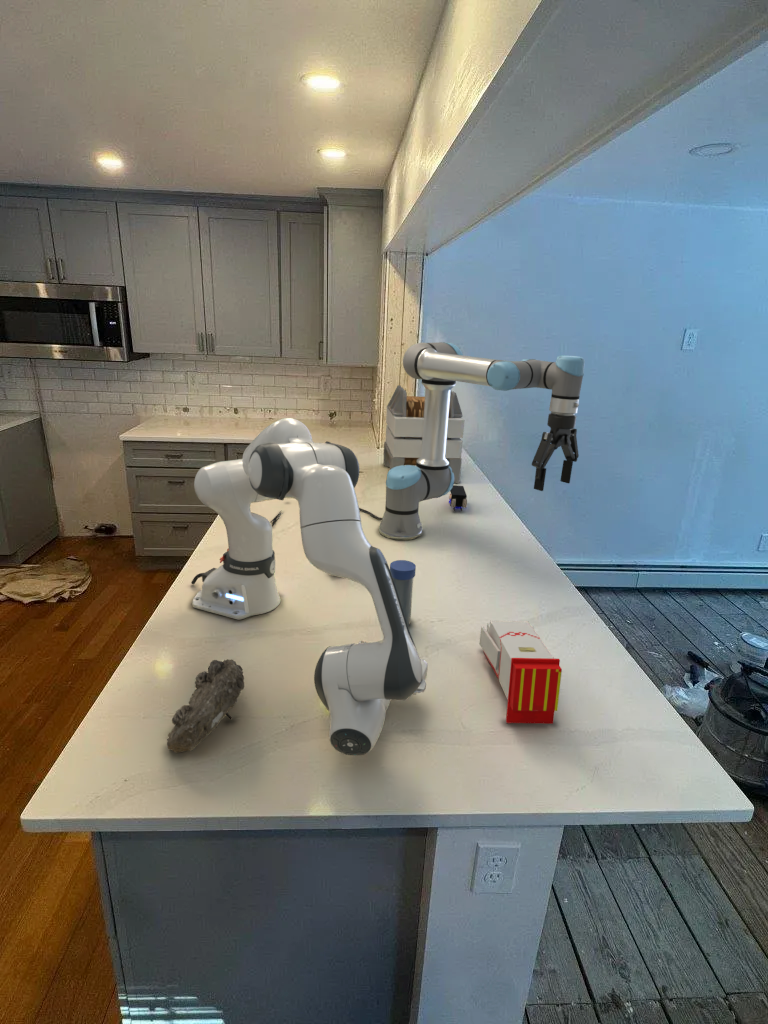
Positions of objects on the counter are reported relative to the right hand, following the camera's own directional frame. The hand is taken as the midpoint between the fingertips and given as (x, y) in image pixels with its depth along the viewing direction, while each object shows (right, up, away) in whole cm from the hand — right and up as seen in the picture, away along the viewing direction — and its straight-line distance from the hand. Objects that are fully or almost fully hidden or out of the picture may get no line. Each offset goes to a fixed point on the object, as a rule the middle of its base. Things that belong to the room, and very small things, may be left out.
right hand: (551, 486), depth 165 cm
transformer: (-32, +11, +109) cm, 115 cm away
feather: (-88, -9, +47) cm, 101 cm away
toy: (-21, -44, -43) cm, 65 cm away
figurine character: (-20, -6, +64) cm, 67 cm away
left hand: (-49, -37, -44) cm, 75 cm away
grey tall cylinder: (-45, -36, -22) cm, 61 cm away
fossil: (-82, -47, -57) cm, 110 cm away
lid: (-44, -21, -27) cm, 56 cm away
